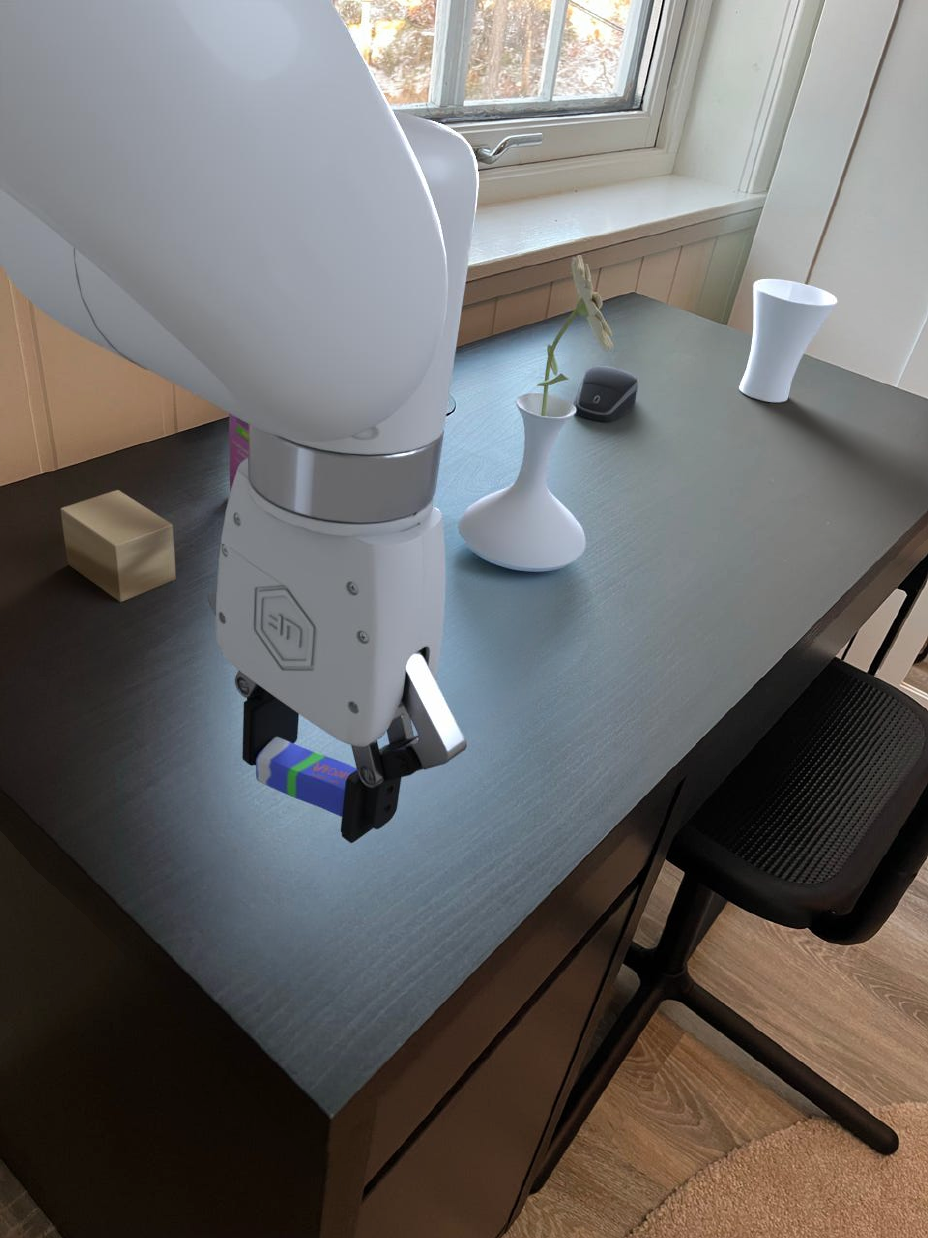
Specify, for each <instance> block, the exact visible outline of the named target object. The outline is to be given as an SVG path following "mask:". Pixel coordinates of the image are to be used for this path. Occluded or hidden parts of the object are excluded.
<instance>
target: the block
mask: <svg viewBox="0 0 928 1238" xmlns="http://www.w3.org/2000/svg"><path fill="white" fill-rule="evenodd" d="M60 517H61V524H62V532H63V540H64V547H65V554H66V563H67V565H68V566H69V567H71V568H72V569H74V570H75V571H77V572H78V573H79V574H80V575H82V576H83V577H85V578H86V579H87V580H89V581H91V582H92V583H93V584H94V585H96V587H99V588H100V589H101V590H102V591H104V592H105V593H106V594H108V595H110V596H111V597H112V598H114V599H115V600H117V601H118V602H119V603H123V602H125V601H128V600H130V599H132V598H135V597H137V596H140V595H142V594H145V593H146V592H149V591H152V590H155V589H157V588H159V587H161V586H164V585H166V584H168V583H172V582H173V581H175V580H176V578H177V577H176V558H175V542H174V541H175V540H174V525H173V523H171V522H169V521H168V520H167V519H165V518H163V517H161V516H160V515H158V514H157V513H155V512H153V511H152V510H151V509H149V508H148V507H146V506H145V505H142V504H141V503H139V502H138V501H136V500H135V499H133V498H131V497H130V496H128V495H127V494H125V493H124V492H122V491H121V490H119V489H116V490H113V491H110V492H107V493H104V494H103V493H102V494H100V495H97V496H94V497H91V498H89V499H85V500H81V501H79V502H76V503H72V504H70V505H67V506H64V507H61V508H60Z"/></svg>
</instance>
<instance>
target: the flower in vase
mask: <svg viewBox="0 0 928 1238" xmlns="http://www.w3.org/2000/svg"><path fill="white" fill-rule="evenodd" d="M570 266H571V272H572V273H571V274H572V277H573V281H574V284H575V288H576V291H577V295H578V298H579V300H578V301H577V304H576V307H575V309H574V310H573V311H572V313H570V315H569V316H568V318H567V320H566V321H565V322H564V324H563V325H562V327H561V328H560V330H559V331H558V333H557V334H556V336H555V338H554V340H553V342H552V344H550V343H549V344H547V347H546V348H547V349H546V350H547V361H546V367H545V375H544V381H542V382H539V383H537V384H536V386H537V387H538V386H541V387H543V393H541V392H540V393H539V392H530V393H524V394H521V395H519V396H517V397H516V398H515V405H516V407H517V410H518V411H519V414H520V416H521V418H522V422H523V429H524V431H523V432H524V441H523V442H524V443H523V454H522V461H521V464H520V468H519V469H520V470H519V472H518V475H517V478H516V479H515V480H514V481H513V482H512V483H511V484H510V485H509V486H506V487H504V488H502V489H500V490H497V491H494V492H492V493H490V494H488V495H486V496H483V497H482V498H480V499H478V500H476V501H475V502H473V503H472V504H471V505H469V506H468V507H467V508H466V509H465V511H464V512H463V513H462V515H461V517H460V519H459V521H458V526H457V527H458V532H459V535H460V537H461V538H462V540H463V542H464V544H465V545H466V547H467V548H468V549H469V550H471V552H472V553H474V554H475V555H476V556H477V557H479V558H481V559H483V560H485V561H487V562H489V563H491V564H494V565H496V566H499V567H503V568H506V569H511V570H516V571H522V572H532V573H533V572H535V573H541V572H550V571H556V570H560V569H563V568H566V567H567V566H570V565H571V564H573V563H574V562H575V561H576V560H578V558H580V557H581V556H582V554H583V553H584V552H585V549H586V537H585V533H584V532H585V531H584V528H582V525H581V524H580V522H579V521H578V520H577V518H576V517H575V515H573V513H572V512H571V511H570V510H569V509H568V508H567V507H566V506H564V504H563V503H562V502H560V500H558V499H557V498H556V496H554V495H553V493H551V491H550V490H549V488H548V484H547V479H548V478H547V476H548V475H547V474H548V468H549V463H550V459H551V456H552V455H551V454H552V452H553V449H554V445H555V442H556V440H557V438H558V436H559V433H560V432H561V430H562V429H563V427H564V426H565V424H566V423H567V422H568V421H569V420H571V418H573V417H574V416H575V415H576V408H575V406H574V403H572V402H570V401H569V400H567V399H565V398H562V397H561V396H557V395H553V394H549V393H548V392H549V386H551V385H554V384H558V383H560V382H563V381H568V380H570V378H568V377H567V376H566V375H564V374H563V373H559V374H558V369H559V368H558V363H557V361H556V357H555V349H556V347H557V345H558V343H559V341H560V340H561V338H562V337H563V335H564V333H565V332H566V330H567V329H568V328H569V326H570V324H571V323H572V322H573V321H574V319H575V318H576V317H577V315H580V316H582V317H586V320H587V321H588V324H589V327H590V329H591V331H592V333H593V335H594V337H595V339H596V341H597V343H598V344H599V347H600V348H601V350H603V352H605V353H607V352H608V351H611V350H612V349H614V344H613V342H612V340H611V338H610V337H612V336H613V333H612V331H611V328H610V326H609V324H608V322H607V321H606V320H605V318H604V315H603V313H602V311H601V310H600V309H601V308H603V304H604V303H603V299H602V297H601V295H600V293H599V292H596V291H594V287H593V284H592V276H591V275H592V274H591V270H590V267H589V265H588V264H587V263H585V264H584V260H583V257H582V254H579V255H576V257H572V258H571V262H570ZM551 371H552V374H553V375H554V376H556V377H554V378H550V372H551Z"/></svg>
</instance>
